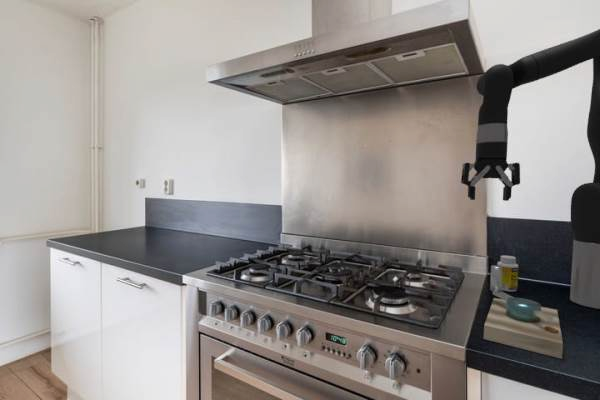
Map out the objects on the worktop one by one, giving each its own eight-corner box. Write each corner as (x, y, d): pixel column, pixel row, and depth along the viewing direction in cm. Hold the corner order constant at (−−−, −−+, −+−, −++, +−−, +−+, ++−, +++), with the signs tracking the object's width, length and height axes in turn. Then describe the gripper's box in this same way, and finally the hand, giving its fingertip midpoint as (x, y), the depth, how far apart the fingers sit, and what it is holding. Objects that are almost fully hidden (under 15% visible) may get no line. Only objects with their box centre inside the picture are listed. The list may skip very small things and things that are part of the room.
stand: (493, 309, 86) (493, 295, 85) (556, 322, 78) (557, 307, 78) (483, 338, 69) (484, 322, 69) (561, 358, 62) (563, 340, 62)
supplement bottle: (512, 293, 98) (513, 259, 97) (492, 288, 102) (494, 256, 102) (520, 290, 101) (522, 257, 100) (501, 285, 105) (502, 253, 105)
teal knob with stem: (563, 329, 67) (566, 287, 66) (535, 330, 66) (537, 287, 66) (503, 298, 84) (505, 265, 83) (480, 299, 83) (481, 265, 83)
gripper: (467, 140, 88) (465, 200, 89) (526, 139, 86) (523, 201, 87) (460, 143, 96) (458, 198, 97) (514, 143, 93) (511, 200, 94)
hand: (488, 200), depth 92 cm, fingers open, 8 cm apart
